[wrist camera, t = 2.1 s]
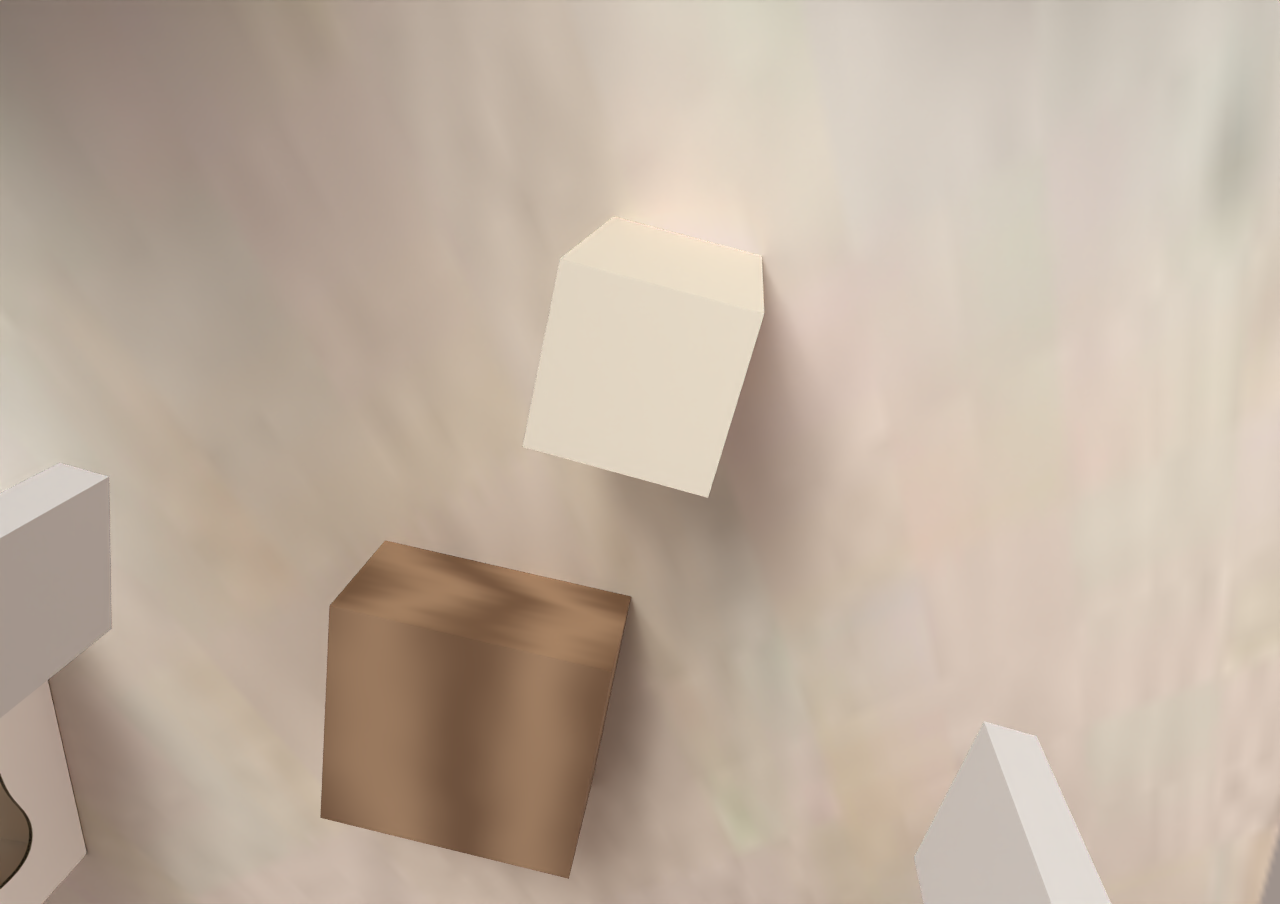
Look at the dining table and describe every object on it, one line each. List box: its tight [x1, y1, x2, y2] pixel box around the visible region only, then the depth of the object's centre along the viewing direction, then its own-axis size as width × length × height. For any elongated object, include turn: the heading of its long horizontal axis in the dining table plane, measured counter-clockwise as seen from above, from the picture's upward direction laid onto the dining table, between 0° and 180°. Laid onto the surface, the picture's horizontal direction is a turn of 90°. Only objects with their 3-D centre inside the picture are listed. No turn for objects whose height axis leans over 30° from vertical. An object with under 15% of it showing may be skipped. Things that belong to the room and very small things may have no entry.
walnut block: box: [321, 541, 631, 878], centre depth 40 cm, size 12×12×6 cm
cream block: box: [522, 216, 764, 498], centre depth 30 cm, size 6×6×10 cm
